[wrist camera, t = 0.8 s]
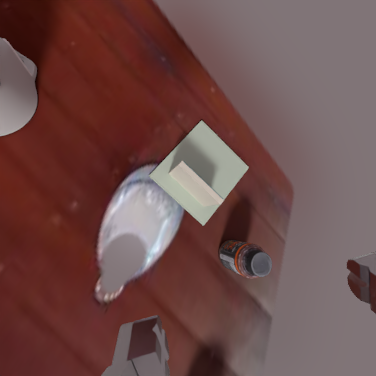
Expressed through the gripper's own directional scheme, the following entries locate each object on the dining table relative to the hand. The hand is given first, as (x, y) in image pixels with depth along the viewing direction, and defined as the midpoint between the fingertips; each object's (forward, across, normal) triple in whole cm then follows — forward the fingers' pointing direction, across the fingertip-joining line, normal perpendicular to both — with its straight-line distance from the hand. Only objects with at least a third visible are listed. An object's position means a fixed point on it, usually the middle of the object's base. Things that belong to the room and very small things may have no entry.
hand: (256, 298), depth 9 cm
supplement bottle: (+34, -5, +21) cm, 40 cm away
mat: (+39, -4, +3) cm, 39 cm away
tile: (+37, 0, +5) cm, 37 cm away
